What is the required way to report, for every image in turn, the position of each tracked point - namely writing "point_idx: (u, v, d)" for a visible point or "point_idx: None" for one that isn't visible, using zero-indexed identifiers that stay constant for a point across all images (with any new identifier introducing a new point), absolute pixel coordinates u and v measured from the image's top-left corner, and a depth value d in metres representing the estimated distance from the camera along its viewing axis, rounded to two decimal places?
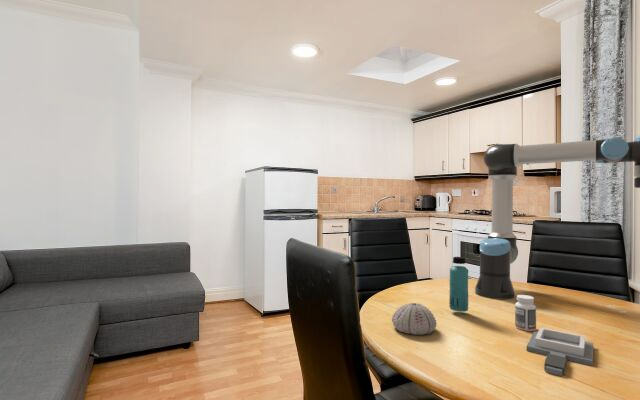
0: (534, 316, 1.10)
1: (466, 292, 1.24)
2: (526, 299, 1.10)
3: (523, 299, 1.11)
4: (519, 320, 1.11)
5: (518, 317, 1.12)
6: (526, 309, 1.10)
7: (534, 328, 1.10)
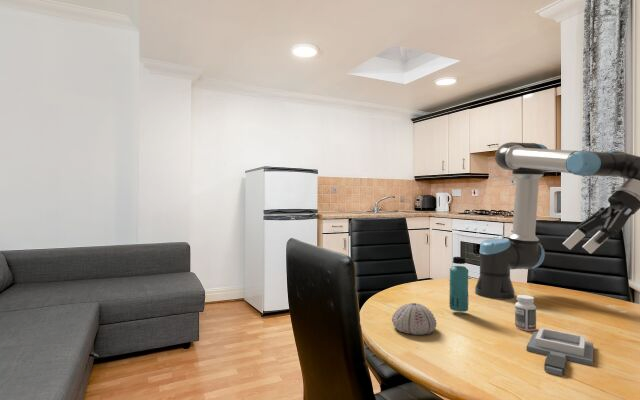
0: (534, 316, 1.10)
1: (466, 292, 1.24)
2: (526, 299, 1.10)
3: (523, 299, 1.11)
4: (519, 320, 1.11)
5: (518, 317, 1.12)
6: (526, 309, 1.10)
7: (534, 328, 1.10)
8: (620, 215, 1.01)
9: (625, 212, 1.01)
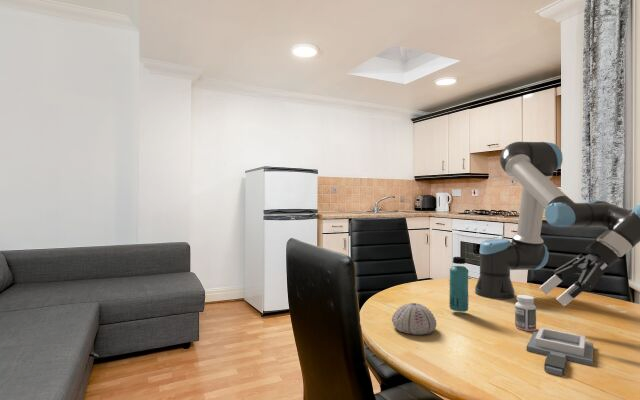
0: (534, 316, 1.10)
1: (466, 292, 1.24)
2: (526, 299, 1.10)
3: (523, 299, 1.11)
4: (519, 320, 1.11)
5: (518, 317, 1.12)
6: (526, 309, 1.10)
7: (534, 328, 1.10)
8: (595, 270, 1.00)
9: (601, 267, 1.01)
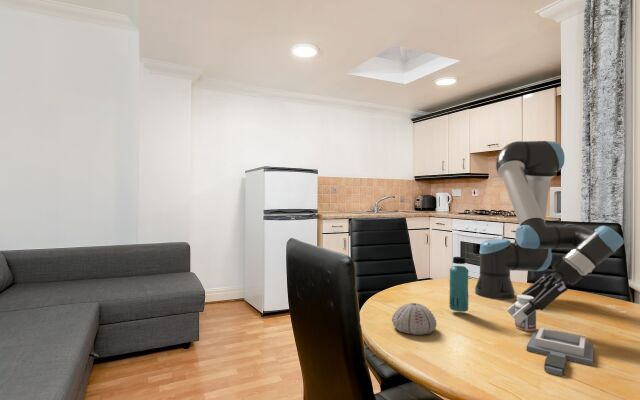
0: (534, 316, 1.10)
1: (466, 292, 1.24)
2: (526, 299, 1.10)
3: (523, 299, 1.11)
4: None
5: None
6: None
7: (534, 328, 1.10)
8: (551, 291, 1.05)
9: (558, 289, 1.05)
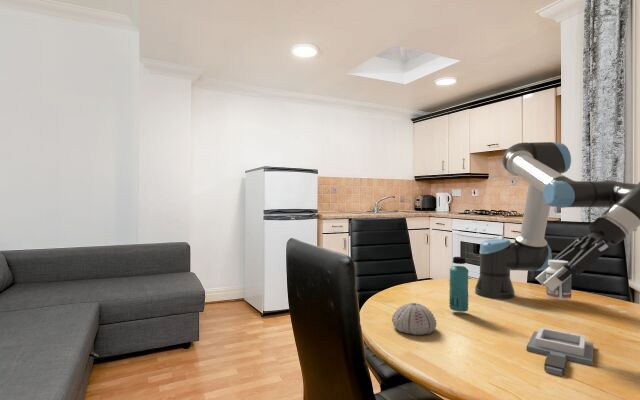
0: (569, 282, 0.95)
1: (466, 292, 1.24)
2: (560, 263, 0.96)
3: (556, 263, 0.96)
4: None
5: None
6: None
7: (569, 296, 0.95)
8: (591, 252, 0.90)
9: (599, 248, 0.90)
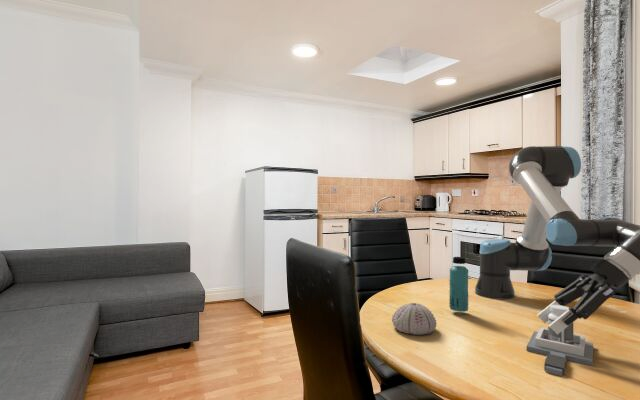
0: (572, 330, 0.94)
1: (466, 292, 1.24)
2: (562, 310, 0.95)
3: (559, 310, 0.95)
4: (554, 334, 0.96)
5: (552, 331, 0.96)
6: None
7: (572, 344, 0.94)
8: (596, 296, 0.89)
9: (604, 293, 0.89)
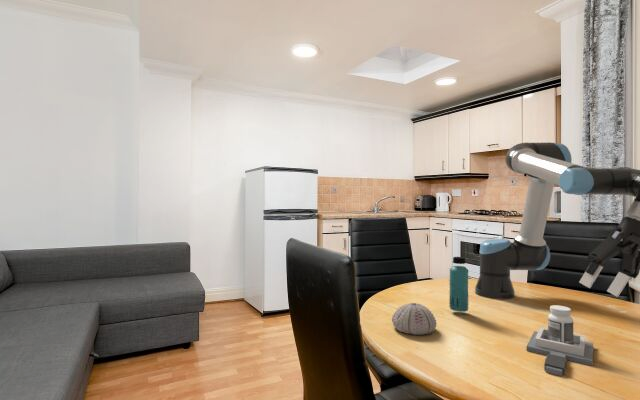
0: (571, 331, 0.94)
1: (466, 292, 1.24)
2: (562, 311, 0.95)
3: (558, 311, 0.95)
4: (554, 335, 0.96)
5: (552, 331, 0.96)
6: (562, 322, 0.94)
7: None
8: (605, 240, 0.94)
9: (612, 236, 0.94)
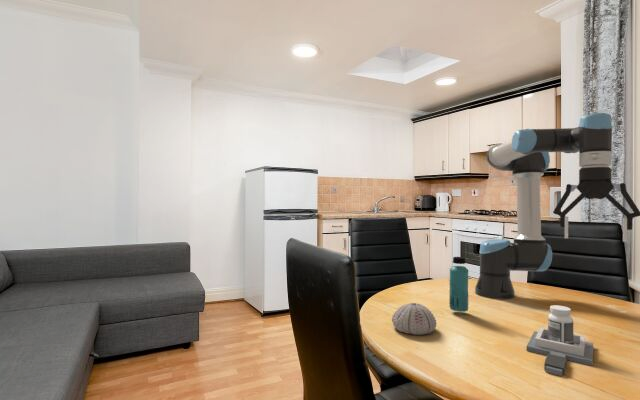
0: (571, 331, 0.94)
1: (466, 292, 1.24)
2: (562, 311, 0.95)
3: (558, 311, 0.95)
4: (554, 335, 0.96)
5: (552, 331, 0.96)
6: (562, 322, 0.94)
7: None
8: None
9: None
